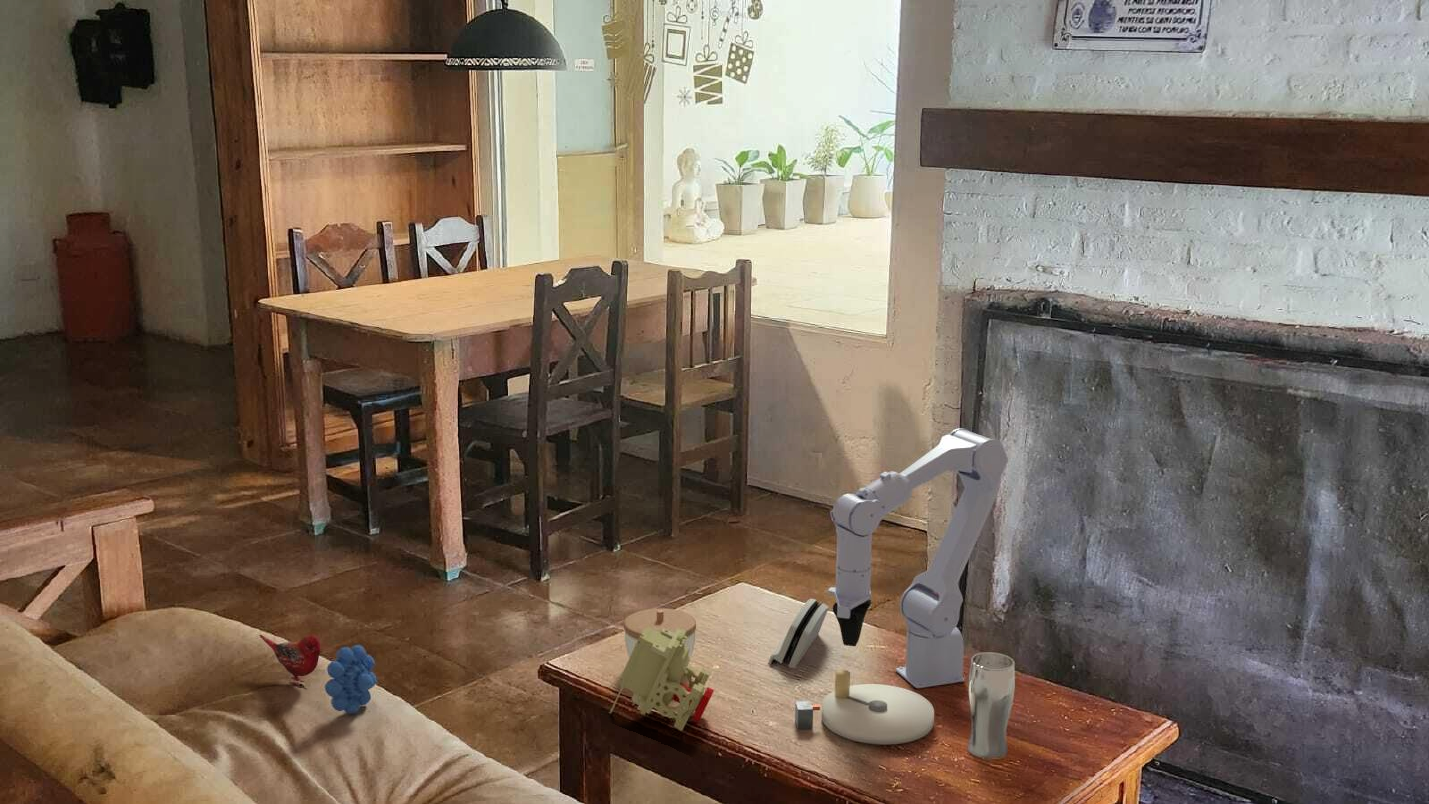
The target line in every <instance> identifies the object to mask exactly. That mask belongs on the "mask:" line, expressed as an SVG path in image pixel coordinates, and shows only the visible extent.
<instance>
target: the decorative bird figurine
mask: <svg viewBox="0 0 1429 804" xmlns="http://www.w3.org/2000/svg"><path fill="white" fill-rule="evenodd" d="M259 637H260V638H261V640H263V642H264V643H266V644H267V646H269V647H270V648H271V649H272V651H273V652H274V654H275V656H276V659H277V661H278V662H279V663H280V664H281V665H282V666H283V668H285V669H286V670H287V672H288V673H290V674H292V677H291V678H290V679H291V680H296V681H300V682H305V681H303V680H302V679H301V678H300V677H305V676H308V675H310V674H312V673H313V672H314V671H315V670H316V668H317V666H318V663H319V660H320V659H319V658H320V655H321V653H322V652H323V650H322V647H321V643H320V640H319V638H318V637H317V636H316V635H313V634H311V635H310V634H309V635H307V636H304V637H303V638H302V639H301V640H300V641H284V642H282V643H278V644H277V643H276V642H274V641H272V640H271V639H269V638H267V637H266V636H264V635H262V634H259ZM301 680H302V681H301Z"/></svg>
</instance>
